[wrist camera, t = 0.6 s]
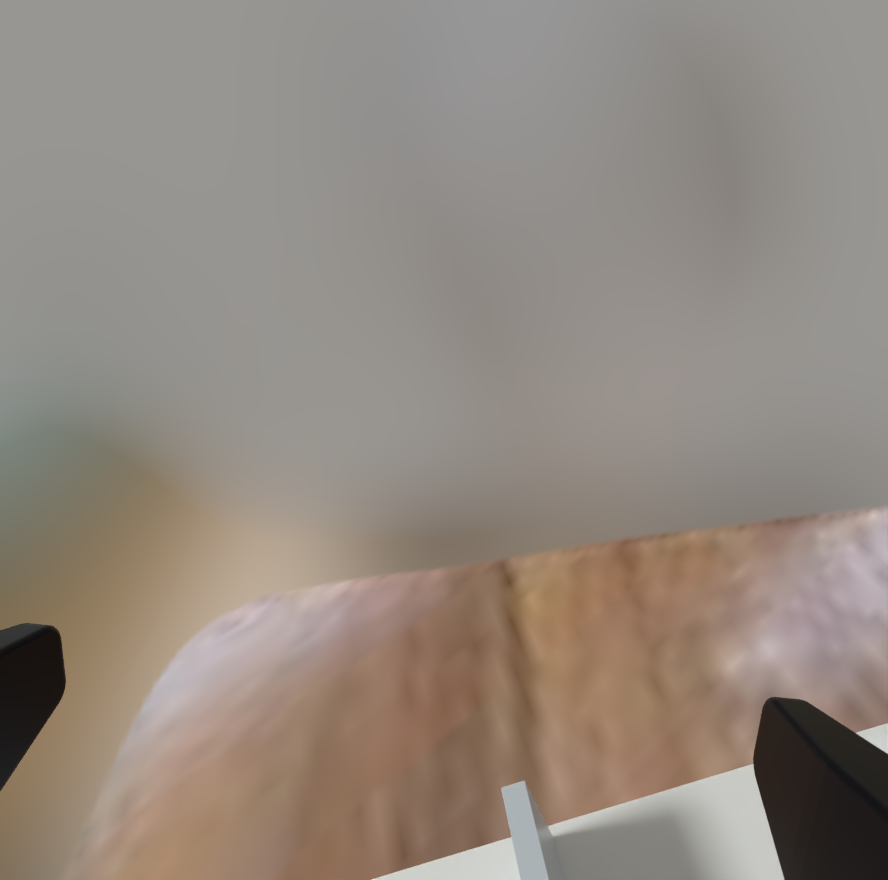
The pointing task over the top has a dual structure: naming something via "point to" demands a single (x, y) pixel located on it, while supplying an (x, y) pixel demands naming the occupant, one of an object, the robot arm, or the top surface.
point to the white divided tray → (633, 837)
